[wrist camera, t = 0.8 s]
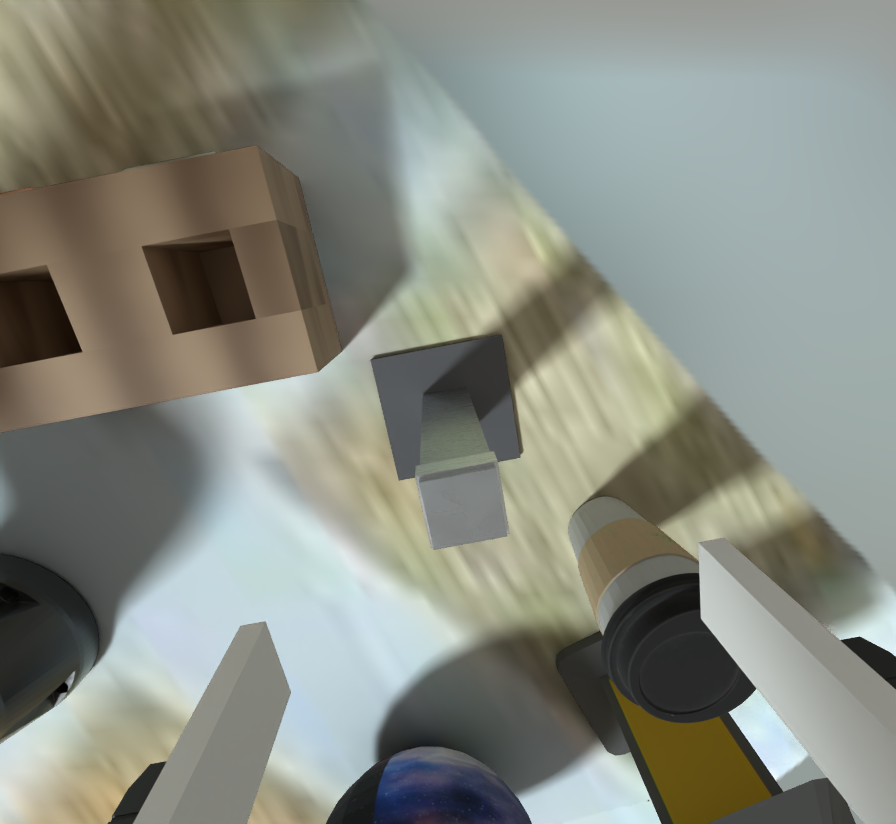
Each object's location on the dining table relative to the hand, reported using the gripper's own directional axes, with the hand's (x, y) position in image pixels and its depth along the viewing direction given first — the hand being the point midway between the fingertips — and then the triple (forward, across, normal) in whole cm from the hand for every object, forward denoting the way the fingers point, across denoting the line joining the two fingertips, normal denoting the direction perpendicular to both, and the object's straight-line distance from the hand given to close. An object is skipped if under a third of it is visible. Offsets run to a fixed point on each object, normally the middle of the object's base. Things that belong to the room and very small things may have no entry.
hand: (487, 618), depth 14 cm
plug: (+23, 0, 0) cm, 23 cm away
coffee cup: (+24, +11, -13) cm, 29 cm away
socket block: (+23, -17, +12) cm, 31 cm away
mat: (+23, 0, 0) cm, 23 cm away
